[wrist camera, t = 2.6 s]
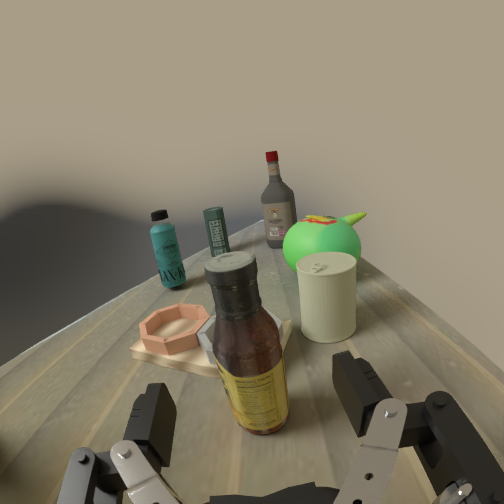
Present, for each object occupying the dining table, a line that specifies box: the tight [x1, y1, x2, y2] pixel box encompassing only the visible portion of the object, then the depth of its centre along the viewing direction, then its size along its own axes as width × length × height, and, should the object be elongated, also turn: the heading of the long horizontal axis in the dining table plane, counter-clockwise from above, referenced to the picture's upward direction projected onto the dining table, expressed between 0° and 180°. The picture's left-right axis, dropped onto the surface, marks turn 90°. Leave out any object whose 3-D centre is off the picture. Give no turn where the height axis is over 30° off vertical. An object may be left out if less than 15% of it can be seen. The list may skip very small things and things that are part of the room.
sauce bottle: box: [204, 251, 289, 435], centre depth 25 cm, size 7×6×20 cm
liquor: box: [261, 151, 297, 248], centre depth 87 cm, size 9×9×30 cm
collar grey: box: [197, 309, 284, 365], centre depth 40 cm, size 12×12×2 cm
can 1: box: [203, 207, 230, 257], centre depth 89 cm, size 6×6×15 cm
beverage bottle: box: [150, 210, 186, 287], centre depth 66 cm, size 6×7×20 cm
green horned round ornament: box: [283, 212, 366, 272], centre depth 61 cm, size 18×17×15 cm
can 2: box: [296, 252, 357, 343], centre depth 42 cm, size 9×9×12 cm
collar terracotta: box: [139, 303, 210, 356], centre depth 44 cm, size 12×12×2 cm
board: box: [129, 316, 292, 379], centre depth 43 cm, size 24×13×2 cm, turn 70°
